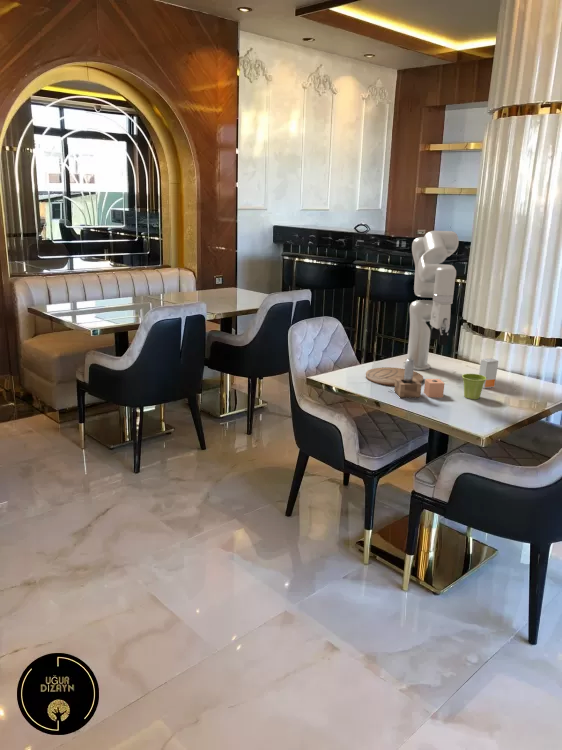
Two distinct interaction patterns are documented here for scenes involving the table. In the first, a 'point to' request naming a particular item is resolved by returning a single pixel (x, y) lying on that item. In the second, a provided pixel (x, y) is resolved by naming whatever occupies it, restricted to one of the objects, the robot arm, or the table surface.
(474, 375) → the plant pot
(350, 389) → the table surface
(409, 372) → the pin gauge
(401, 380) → the wooden box
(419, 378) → the trivet
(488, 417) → the table surface
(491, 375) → the skincare box
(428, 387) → the pink cube with hole
